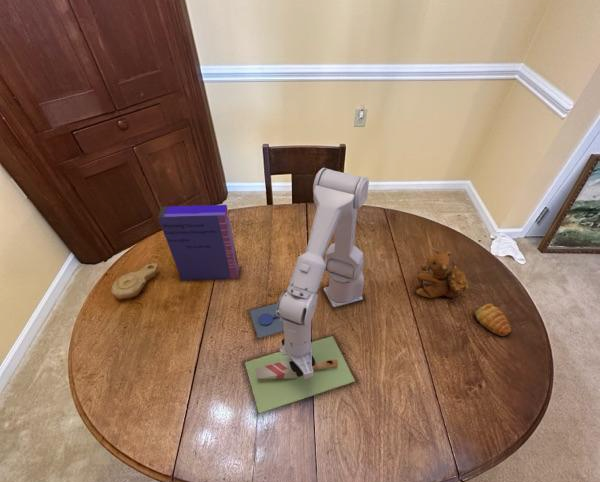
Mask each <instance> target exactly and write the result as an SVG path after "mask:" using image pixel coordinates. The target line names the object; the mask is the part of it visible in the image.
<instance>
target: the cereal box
mask: <svg viewBox="0 0 600 482" xmlns="http://www.w3.org/2000/svg"><path fill="white" fill-rule="evenodd" d="M157 219H158V222H159V224H160V226H161V229H162V232H163V234H164V237H165V240H166V243H167V245H168V248H169V250H170V253H171V256H172V259H173V261H174V264H175V267H176V270H177V271H178V274H179V277H180V281H205V280H207V281H208V280H226V279H238V277H239V271H240V266H239V265H240V264H239V260H238V256H237V251H236V245H235V240H234V236H233V235H234V234H233V230H232V224H231V220H230V214H229V209H228V205H227V204H204V205H203V204H202V205H198V204H197V205H168V206H167V205H166V206H161V208H160V210H159V212H158V216H157Z"/></svg>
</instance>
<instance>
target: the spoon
mask: <svg viewBox="0 0 600 482" xmlns="http://www.w3.org/2000/svg"><path fill="white" fill-rule="evenodd" d="M276 318H279V317H278V316H277V315H273V316H272V315H270V314H268V313H264V314H261V315H260V316H259V318H258V321H259V324H260V325H262V326H269V325H270V324H272V322H273V319H276Z"/></svg>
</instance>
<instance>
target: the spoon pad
mask: <svg viewBox="0 0 600 482" xmlns="http://www.w3.org/2000/svg"><path fill="white" fill-rule="evenodd" d="M277 304H278V302H277V303H273V304H269V305H265V306H262V307H258V308H254V309H251V310H249V314H250V317H251V321H252V323H253V326H254V330H255V334H256V336H257V338H258V339H261V338H264V337H267V336H271V335H274V334H278V333H281V332H284V327H283V322H282V321H280V317H279V318H276V319H273V322H272V324H270V325H269V326H262V325H260V324H259V321H258V318H259V316H260V315H261V314H264V313H268V314H270V315H272V316H273V315H276V311H277Z"/></svg>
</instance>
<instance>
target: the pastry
mask: <svg viewBox="0 0 600 482" xmlns="http://www.w3.org/2000/svg"><path fill="white" fill-rule="evenodd" d="M474 315H475V318H476V321H477V322H479V324H480V325H482V327H484V328H486V329H487V330H489V332H490V333H493V334H495V335H498V336H499V337H505V336H507V335H509V334H510V333H511V332H512V327H511V325H510V322H509V321H508V318H507V316H505V314H504V312H503V311H501V310H500V308H499V307H498V306H494V305H493V304H492V303H487V304H484V305H482V306H481V307H479V308H478V309H477V310H476V311H475V312H474Z"/></svg>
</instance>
